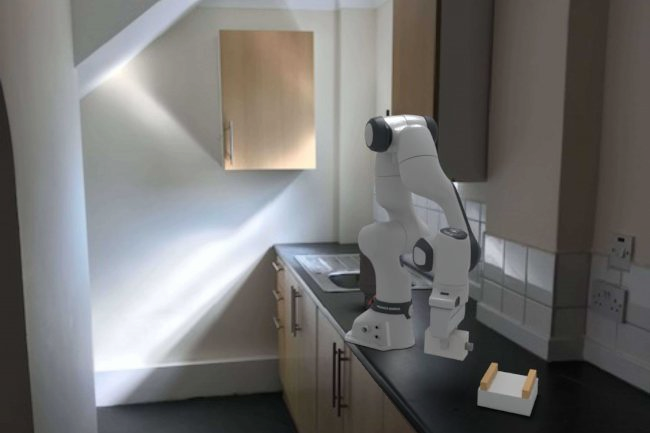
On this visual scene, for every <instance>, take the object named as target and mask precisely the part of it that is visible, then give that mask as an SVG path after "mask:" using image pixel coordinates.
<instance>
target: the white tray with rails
mask: <svg viewBox="0 0 650 433" xmlns="http://www.w3.org/2000/svg"><path fill="white" fill-rule="evenodd" d="M498 367H499V363H497V362H491V363H490V365H489V366H488V369H487V370H486V372H485V373H484V375H483V377H482V378H481V380H480V385H479V387H478V389H477V406H480V407H485V408H489V409H492V410H493V409H494V410H498V411H504V412H508V413H511V414H512V413H514V414H516V415H517V414H518V415H522V416H527V417H531V414H532V410H533V407H534V405H535V401H536V399H537V395H538V386H539V384H538V383H539V378H538V377H537V370H536V369H531V368H530V369H529V371H528V374H527V375H522V374H521V375H520V374H516V373H511V372H504V371H501V370H500V371H499V369H498Z"/></svg>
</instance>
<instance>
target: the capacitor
mask: <svg viewBox="0 0 650 433" xmlns="http://www.w3.org/2000/svg"><path fill="white" fill-rule="evenodd" d="M358 257H359V279H358V283H359V286H358V288H359V290H360V291H361V293H363V295H364V307H363V308H364V309H365V310H366V311H367V310H368V309H370V308H371V304H370V305H369V303H370V302H369V301H370V300H371V299H372V298H373V297H374V296H375V295H376V274H375V270H374V267H373V264H372V262H371V261H370V259H369V258H368V257H367V256H365V255H364V254H363V253H362V251H361V250H360V249H359V256H358Z"/></svg>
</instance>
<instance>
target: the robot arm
mask: <svg viewBox="0 0 650 433" xmlns="http://www.w3.org/2000/svg"><path fill="white" fill-rule="evenodd" d="M438 135H439V128H438V125H437V122H436V121H435V119H434V118H433V117H432V116H427V115H424V114H420V115H416V114H398V115H387V116H382V115H379V116H374V117H371V118H370V119H369V120H368V121H367V123H366V125H365V128H364V140H365V145H366V147H367V148H368V149H369V150H370V151H371V152H374V153H375V159H374V186H375V188H374V189H375V190H374V191H375V201H376V203H377V205H378V206H380V207H381V208H383V209H384V210H385V212H386V214H387V215H388V219H389V221H378V222H377V221H376V222H374V223H371V224H368V225H365V226H363V227H362V228H361V229H360V231H359V233H358V236H357V243H358V248H359V251H360V250H361V251H362V253H363V254H364V255H365V256H367V257H368V258H369V259H370V261H371V262H372V264H373V267H374V270H375V274H376V295H375V296H374V297H373V298H372V299H371V300H370V301H369V302H370V303H369V305H370V304H371V308H370V309H368V310H367V309H366V311H365V310H364V312H363V313H361V314H360V315H358V316H357V317H356V318H355V319H354V321H353V323H352V327H351V330H349V331H348V332H346V333H345V334H344V335H345V336H344V341H346V342H347V343H352V344H356V345H360V346H364V347H367V348H370V349H374V350H379V351H384V352H385V351H391V350H400V349H401V350H402V349H407V348H411V347H413V346H414V345H415V344H416V340H415V336H414V331H413V325H412V324H413V323H412V317H413V309H414V308H413V307H414V305H413V299H412V281H413V280H412V274H411V273H410V271H408V270H407V269H406V268H404V267H402V263H401V260H400V256H403V255H404V256H405V255H412V260H413V264H414V266H415V267H416V268H417V269H418V270H419V271H421V272H423V273H428V274H429V273H431V274H433V275H434V277H433V284H432V291H431V294H430V296H429V298H428V306H430V313H429V315H430V316H429V319H430V320H429V326H430V332H431V336H432V337H433V338H437V339H439V340H440V349H442V350H447V349H448V345H449V342H448V337H449V334H450V333H451V332H452V331H453V330H454V329H457V330H458V326H459V325H460V323H461V322H462V321H463V320H464V318H465V314H466V303H468V301H469V291H470V290H469V289H470V280H469V273H470V272H472V271H473V270H474V269H475V268H476V267H477V266H478V264H479V263H480V261H481V258H482V249H481V246H480V244H479V242H478V240H477V238H476V236H475V234H474V232H473V230H472V228H471V225H470V223H469V220H468V217H467V214H466V211H465V208H464V204H463V202H462V200H461V196H460V194H459V192H458V188H457V187H456V184H455V183H454V182H453V181H452V180H450V178H448V177H447V175H446V174H445V172H444V171H443V168H442V167H441V163H440V162H439V156H438V152H437V148H436V142H437V141H438ZM412 193H413V194H414V195H416V196H419V197H422V198H425V199H426V200H429V201H431V202H433V203H435V204H436V205H438V206H439V207H440V208H441V209H442V211H443V214H444V216H445V219H446V221H447V224H448V225H447V226H448V227H442V228H440V229H438V231H437V232H436V233H435V234H432V235H431V230H430V228H429V226H428V224H427V223H425V222H424V221H423V220H422V219H421V218H420V216H419V215H418V212H417V211H416V209H415V206H414V203H413V198H412V196H413V195H412Z"/></svg>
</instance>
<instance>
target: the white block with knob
mask: <svg viewBox="0 0 650 433" xmlns="http://www.w3.org/2000/svg"><path fill="white" fill-rule="evenodd" d="M469 336H470V332H469V331H467V330H461V329H458V328H457V329H454V330H453V331H452V332H451V333H450V334H449V337H448V342H449V345H448V349H447V350H442V349H440V340H439V339H437V338H433V337H432V336H431V332H430V325H429V326H428V327H427V328H426V329H425V330H424V346H423V347H424V348H423V354H428V355H432V356H437V357H443V358H448V359H453V360H458V361H461V362H462V361H464V360H465V358H466V357H467V356H468V354H469V352H472V351H473V350H474V343H473V342H469Z"/></svg>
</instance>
